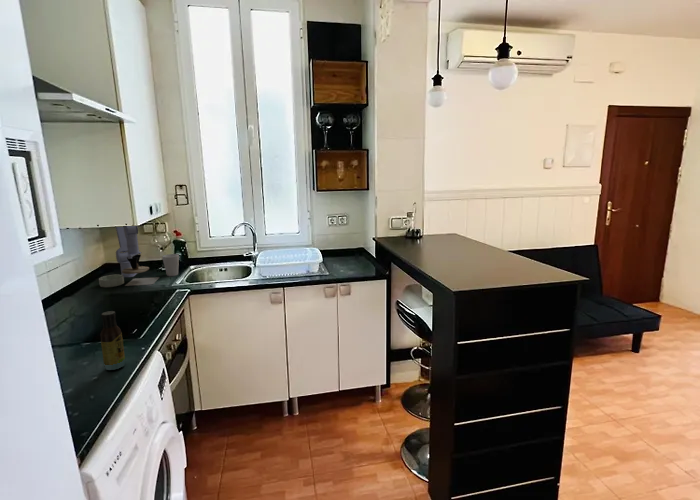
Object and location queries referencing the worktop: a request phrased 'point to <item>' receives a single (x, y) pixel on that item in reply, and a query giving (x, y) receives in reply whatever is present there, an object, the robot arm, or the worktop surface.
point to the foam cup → (171, 264)
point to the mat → (142, 281)
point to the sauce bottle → (111, 340)
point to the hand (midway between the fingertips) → (135, 267)
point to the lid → (135, 270)
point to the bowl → (111, 280)
